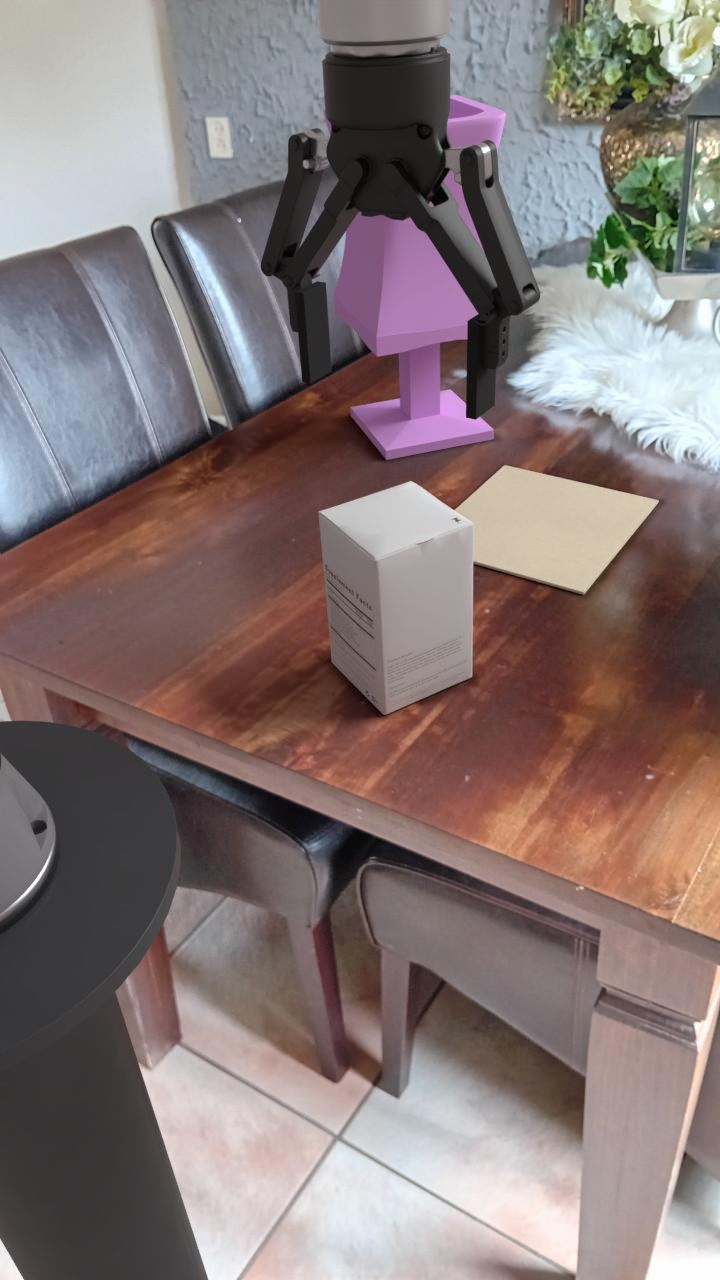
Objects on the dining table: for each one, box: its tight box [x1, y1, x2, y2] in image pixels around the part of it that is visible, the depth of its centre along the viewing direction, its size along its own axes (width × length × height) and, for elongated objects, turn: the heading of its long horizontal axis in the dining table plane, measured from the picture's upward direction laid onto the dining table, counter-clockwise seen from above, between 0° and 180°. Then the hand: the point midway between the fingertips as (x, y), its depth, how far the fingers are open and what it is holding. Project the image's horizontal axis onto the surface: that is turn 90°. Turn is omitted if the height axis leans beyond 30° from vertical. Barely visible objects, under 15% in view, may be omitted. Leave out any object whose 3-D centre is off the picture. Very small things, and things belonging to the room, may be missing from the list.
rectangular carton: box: [317, 480, 474, 716], centre depth 81 cm, size 9×9×15 cm
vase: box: [323, 94, 507, 461], centre depth 114 cm, size 16×16×35 cm
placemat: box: [453, 464, 660, 596], centre depth 103 cm, size 18×20×1 cm
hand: (395, 393), depth 71 cm, fingers open, 13 cm apart
